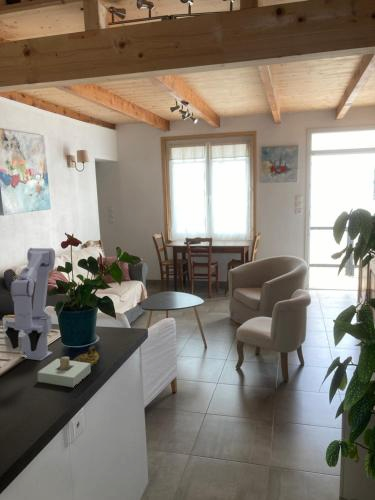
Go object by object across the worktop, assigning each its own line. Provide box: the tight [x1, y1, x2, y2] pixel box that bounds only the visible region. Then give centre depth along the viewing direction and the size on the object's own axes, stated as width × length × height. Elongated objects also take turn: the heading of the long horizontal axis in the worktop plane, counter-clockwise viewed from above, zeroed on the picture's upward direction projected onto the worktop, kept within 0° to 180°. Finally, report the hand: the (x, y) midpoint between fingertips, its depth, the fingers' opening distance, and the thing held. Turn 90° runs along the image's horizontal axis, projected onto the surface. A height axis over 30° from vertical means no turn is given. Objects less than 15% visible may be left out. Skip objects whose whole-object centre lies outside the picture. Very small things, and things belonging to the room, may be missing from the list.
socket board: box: [37, 358, 92, 388], centre depth 144 cm, size 14×12×4 cm
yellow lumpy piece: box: [72, 345, 100, 367], centre depth 157 cm, size 9×5×15 cm
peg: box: [59, 356, 70, 371], centre depth 143 cm, size 3×3×7 cm
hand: (24, 349), depth 144 cm, fingers open, 7 cm apart
